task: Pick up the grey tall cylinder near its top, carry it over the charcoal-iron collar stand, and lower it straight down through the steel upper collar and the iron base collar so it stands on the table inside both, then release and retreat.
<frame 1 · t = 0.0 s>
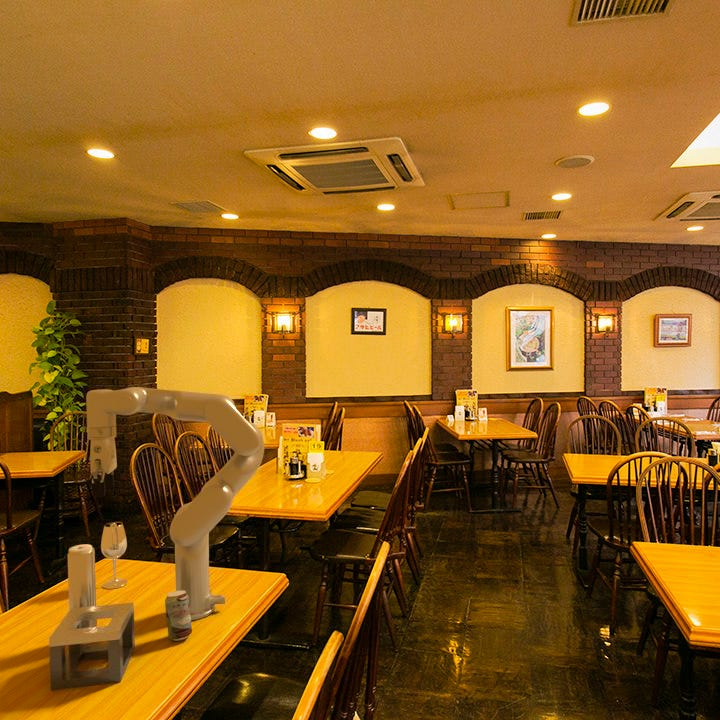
hand: (103, 492, 160), 37 cm above the table, tool pointing down, fingers open, 9 cm apart
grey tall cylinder: (83, 641, 149), on the table
wineglass: (115, 585, 185), on the table
beverage can: (179, 638, 149), on the table
collar stand: (95, 668, 135), on the table
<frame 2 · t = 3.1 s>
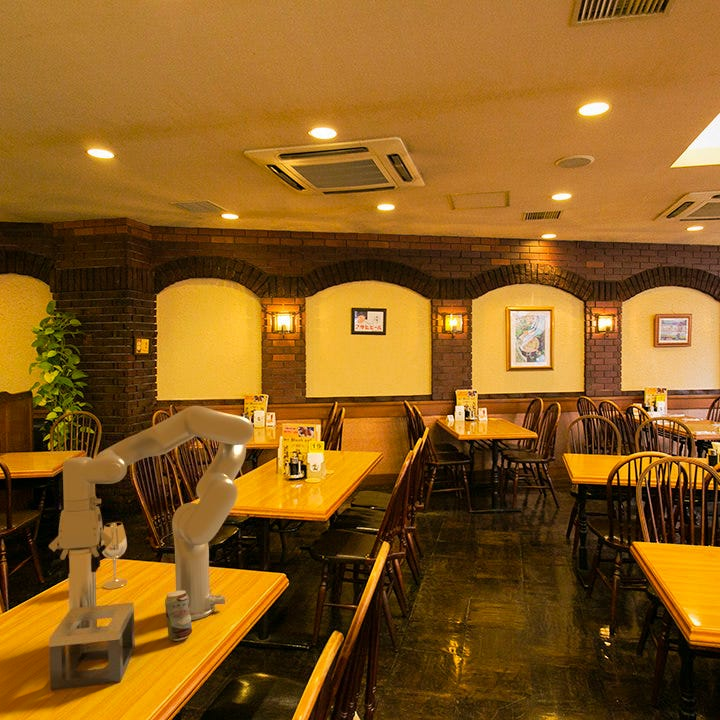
hand: (81, 570, 149), 19 cm above the table, tool pointing down, fingers closed on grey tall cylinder, 6 cm apart
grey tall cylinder: (83, 641, 149), on the table, touching gripper
everything else where it was.
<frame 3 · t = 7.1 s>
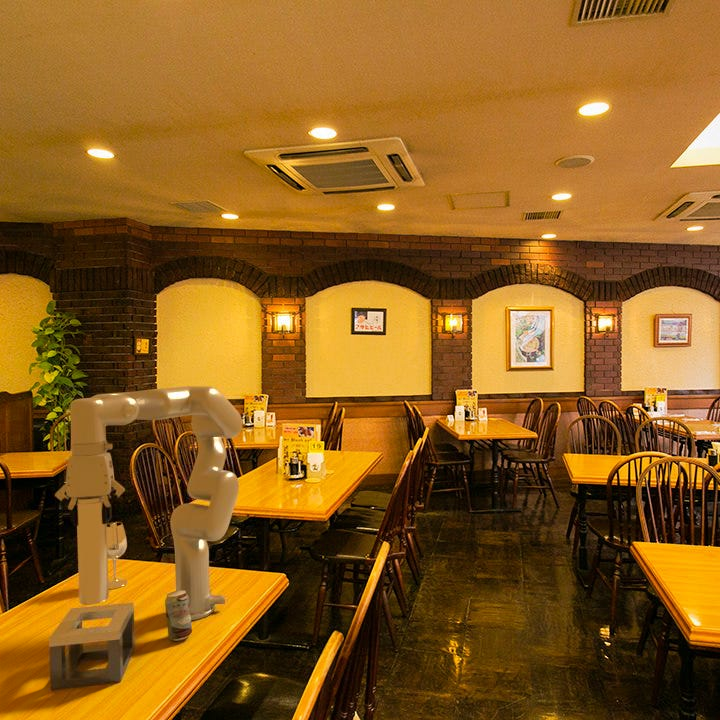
hand: (91, 522, 135), 35 cm above the table, tool pointing down, fingers closed on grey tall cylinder, 6 cm apart
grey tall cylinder: (94, 599, 135), point 17 cm above the table, touching gripper
everything else where it was.
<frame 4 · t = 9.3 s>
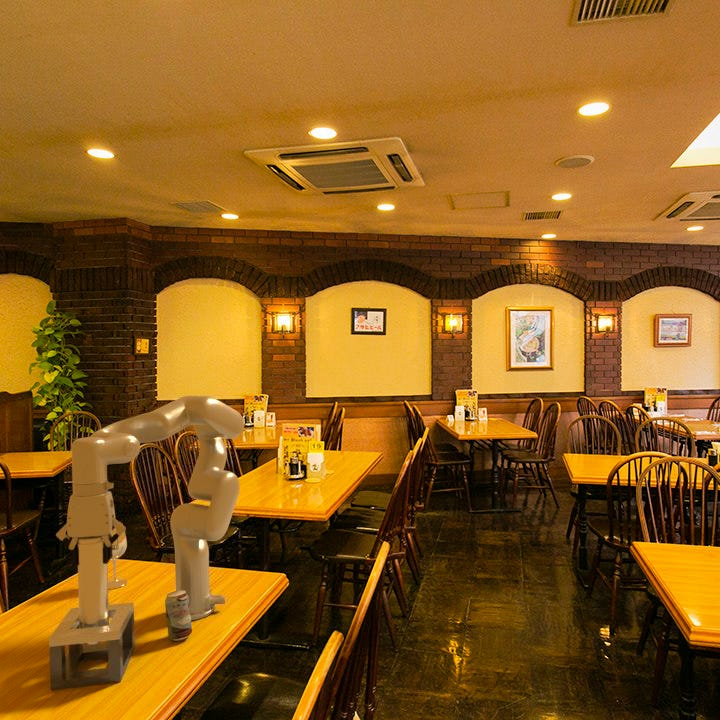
hand: (92, 562, 135), 26 cm above the table, tool pointing down, fingers closed on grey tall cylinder, 6 cm apart
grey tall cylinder: (94, 639, 135), point 7 cm above the table, touching gripper
everything else where it was.
when the fingers open (20 cm above the table, at t = 11.3 s): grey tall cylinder drops 1 cm, resting in collar stand.
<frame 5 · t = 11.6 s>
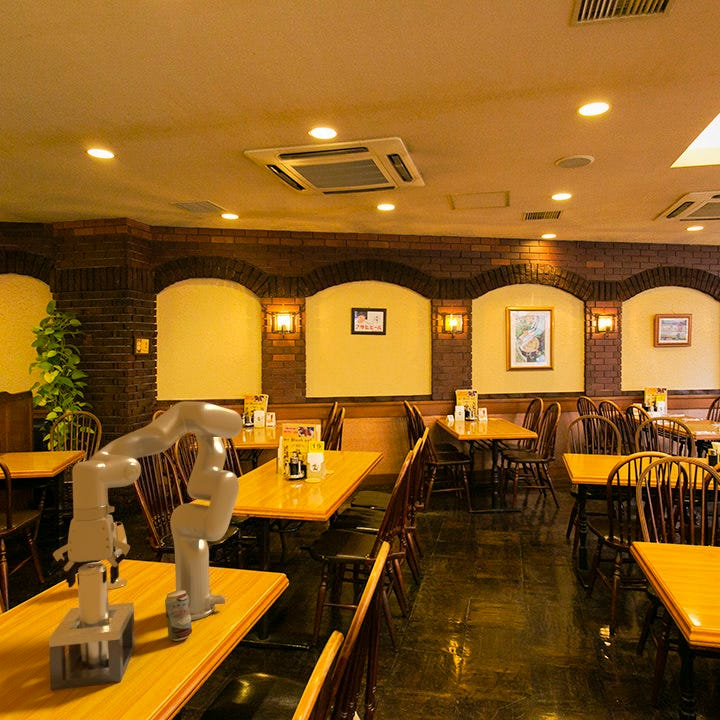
hand: (93, 583, 135), 21 cm above the table, tool pointing down, fingers open, 9 cm apart
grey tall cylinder: (97, 667, 136), resting in collar stand
everything else where it was.
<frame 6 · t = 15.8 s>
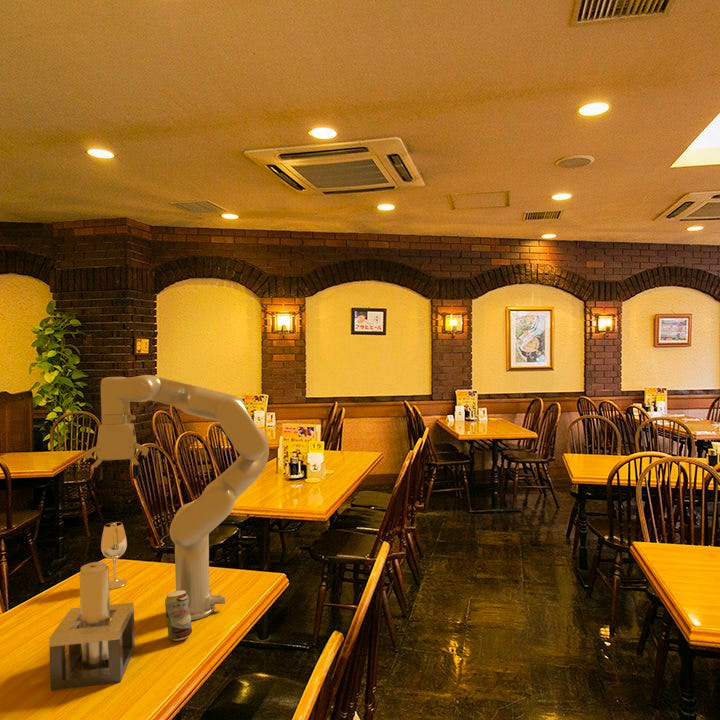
hand: (117, 479, 160), 40 cm above the table, tool pointing down, fingers open, 9 cm apart
nothing on the table moved.
at the end: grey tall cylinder 0.4 cm off-centre on the collar stand, point 0.0 cm above the collar stand's base; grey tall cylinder tilted 0°; the gripper is holding nothing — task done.
